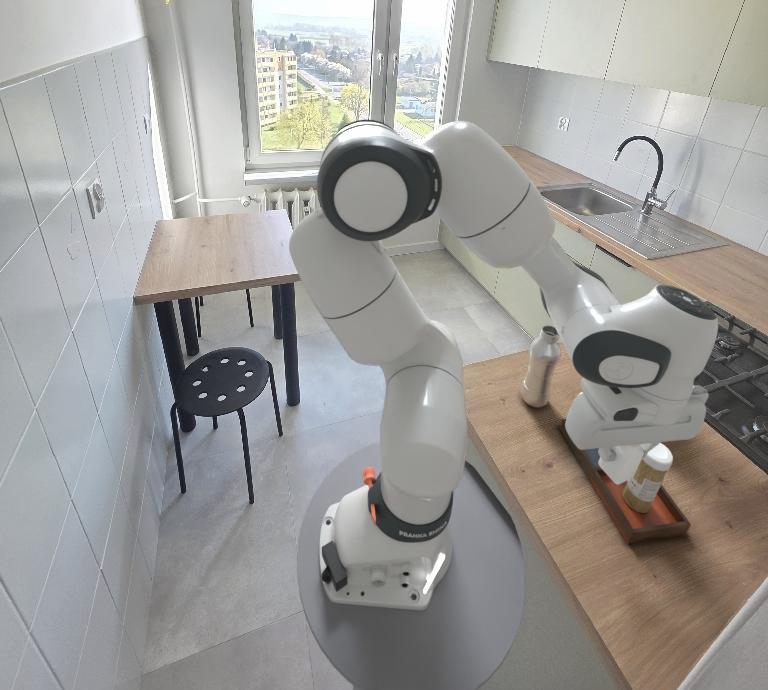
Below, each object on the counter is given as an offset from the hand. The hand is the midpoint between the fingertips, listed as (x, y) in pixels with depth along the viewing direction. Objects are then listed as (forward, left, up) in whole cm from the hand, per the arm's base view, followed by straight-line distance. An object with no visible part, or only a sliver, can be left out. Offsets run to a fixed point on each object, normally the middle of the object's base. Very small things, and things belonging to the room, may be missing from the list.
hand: (620, 455), depth 65 cm
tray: (+10, +8, -18) cm, 22 cm away
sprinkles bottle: (+10, +2, -17) cm, 20 cm away
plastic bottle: (+2, +27, -18) cm, 33 cm away
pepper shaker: (0, 0, -4) cm, 4 cm away
